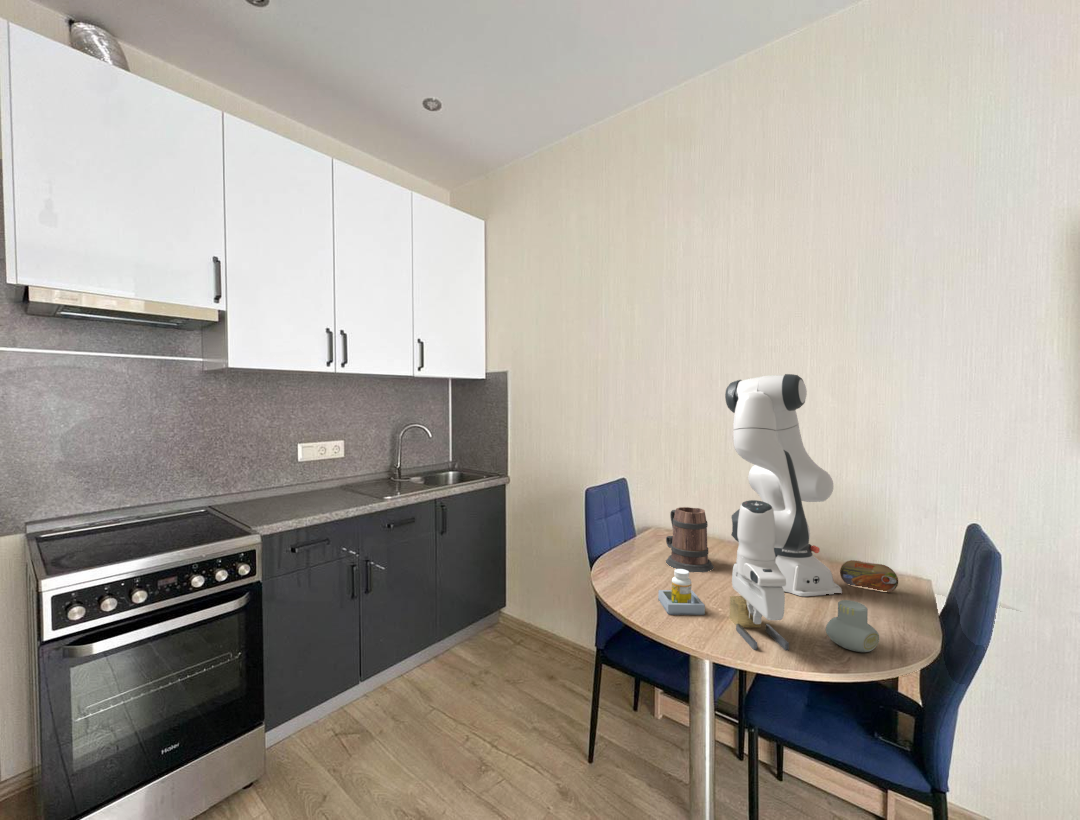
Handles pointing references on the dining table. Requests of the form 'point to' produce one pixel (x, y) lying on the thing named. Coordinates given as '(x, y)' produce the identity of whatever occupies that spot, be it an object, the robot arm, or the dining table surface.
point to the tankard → (689, 540)
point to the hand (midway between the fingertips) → (755, 621)
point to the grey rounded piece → (852, 627)
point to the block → (740, 612)
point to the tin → (869, 575)
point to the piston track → (769, 630)
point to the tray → (681, 604)
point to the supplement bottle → (681, 587)
